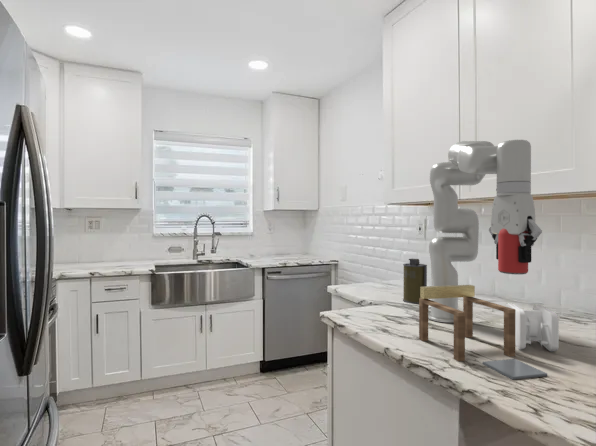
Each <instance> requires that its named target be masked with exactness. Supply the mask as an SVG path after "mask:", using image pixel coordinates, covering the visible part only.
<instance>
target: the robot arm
mask: <svg viewBox="0 0 596 446" xmlns="http://www.w3.org/2000/svg"><path fill="white" fill-rule="evenodd" d="M447 154H448V155H447V156H448V158H449V159H448V160H449V161H445V162H438V163H435V164H433V165H432V167H431V169H430V172H429V182H430V183H429V184H430V188H431V191H432V195H433V228H434V230H435V231H436V232H437V233H441V234H462V236H438V237H434V238H432V239H431V240H430V241H429V244H428V252H429V256H430V257H429V258H430V266H431V267H430V268H431V274H430V275H431V277H430V278H431V286H451V285H459V275H458V270H457V269H456V267H455V266H453V264H452V263H455V262H460V263H461V262H464V263H465V262H466V263H467V262H473V261H475V260H476V259H477V256H478V254H479V231H480V230H479V229H480V226H479V225H480V223H479V217H478V216H479V215H478V214H477V212H476V211H475V210H474V209H471V208H459V205H458V203H459V197H458V194H457V193H456V191H455V189H454V188H453V187H452V186H475V185H479V184H480V183H481V182H482V181H483V180H484V178H485V176H486V175H496V190H495V191H496V196H494V198H493V202H492V208H491V215H490V216H491V219H490V227H489V228H488V232H489V233H490V235H491V238H492V239H493V240H494V245H495V247H496V248H495V252H496V253H495V254H496V255H495V259H496V260H497V261H498V234H499V232H500V230H501V229H503V228H504V229H506V230H507V231H508V233H509V234H511V235H518V239H519V241H520V244H521V246H519V248H518V261H519V262H520V263H528V264H529V263H532V247H534V245H535V243H536V241H538V238H539V237H540V236H541V234H542V233H543V230H542V229H541V227H540V226H539V225H538V224H537V223H536V211H535V210H536V209H535V204H534V203H535V201H534V198H533V195H532V183H531V182H532V144H531V142H530V141H528V140H526V139H511V140H505V141H502V142H500V143H499V144H498V145H495V144H493V143H492V142H490V141H487V140H478V141H477V140H476V141H475V140H470V141H468V140H466V141H465V140H462V141H458V142H455V143H454V144H452V146H451V147H450V148H449V150H448V153H447ZM524 231H526V233H522V232H524ZM524 237H526V239H525V238H524ZM431 300H432V301H435V302H437V303H440V304H443V305H446V306H449V307H451V308H454V309H457V310H459V298H438V299H431ZM428 310H430V312H428V320H431V321H434V322H438V323H439V322H440V323H447V324H451V323H453V324H454V315H453V314H451V313H448V312H445V311H443V310H440V309H438V308H435V307H432V306H430V305H428Z"/></svg>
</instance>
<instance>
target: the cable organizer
mask: <svg viewBox="0 0 596 446" xmlns="http://www.w3.org/2000/svg"><path fill="white" fill-rule="evenodd" d="M505 307H509V308H512V309H515V348H517V349H518V350H520V351H521V350H523V349H525V348H526V347H527V344H528V345H529V344H530V345H529V346H531V344H532V342H538V343H539V344H540V346H541V347H545V348H546V350H548V351H549V352H552V353H553V352H557V351H558V350H559V345H560V344H559V336H560V335H559V332H560V331H559V330H560V329H559V327H560V325H559V322H560V321H559V315H558V314H557V312H555V311H553V310H551V309H549V308H547V307H546V306H545V305H542V304H534V305H533V306H532V309H525V308H523V309H522V308H521V307H519V306H517V305H516V304H514V303H511V302H510V303H509V302H508V303H507V302H506V304H505Z"/></svg>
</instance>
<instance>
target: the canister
mask: <svg viewBox="0 0 596 446" xmlns="http://www.w3.org/2000/svg"><path fill="white" fill-rule="evenodd" d="M408 261H409V262H408V263H403V264H402V265H403V298H402V301H404V302H405V303H409V304H419V298H420V287H426V286H427V285H428V283H427V280H428V279H427V278H428V277H427V275H428V274H427V273H428V271H427V270H428V265H427V264H425V263H420V259H419V258H409V259H408Z"/></svg>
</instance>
